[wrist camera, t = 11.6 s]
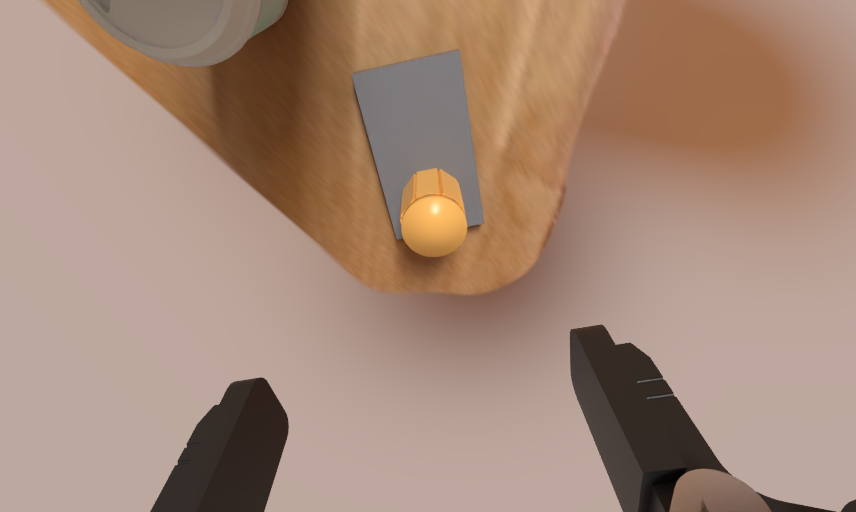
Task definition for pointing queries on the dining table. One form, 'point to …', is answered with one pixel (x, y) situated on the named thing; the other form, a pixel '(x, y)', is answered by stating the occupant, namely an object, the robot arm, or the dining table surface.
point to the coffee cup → (185, 26)
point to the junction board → (419, 127)
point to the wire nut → (433, 213)
